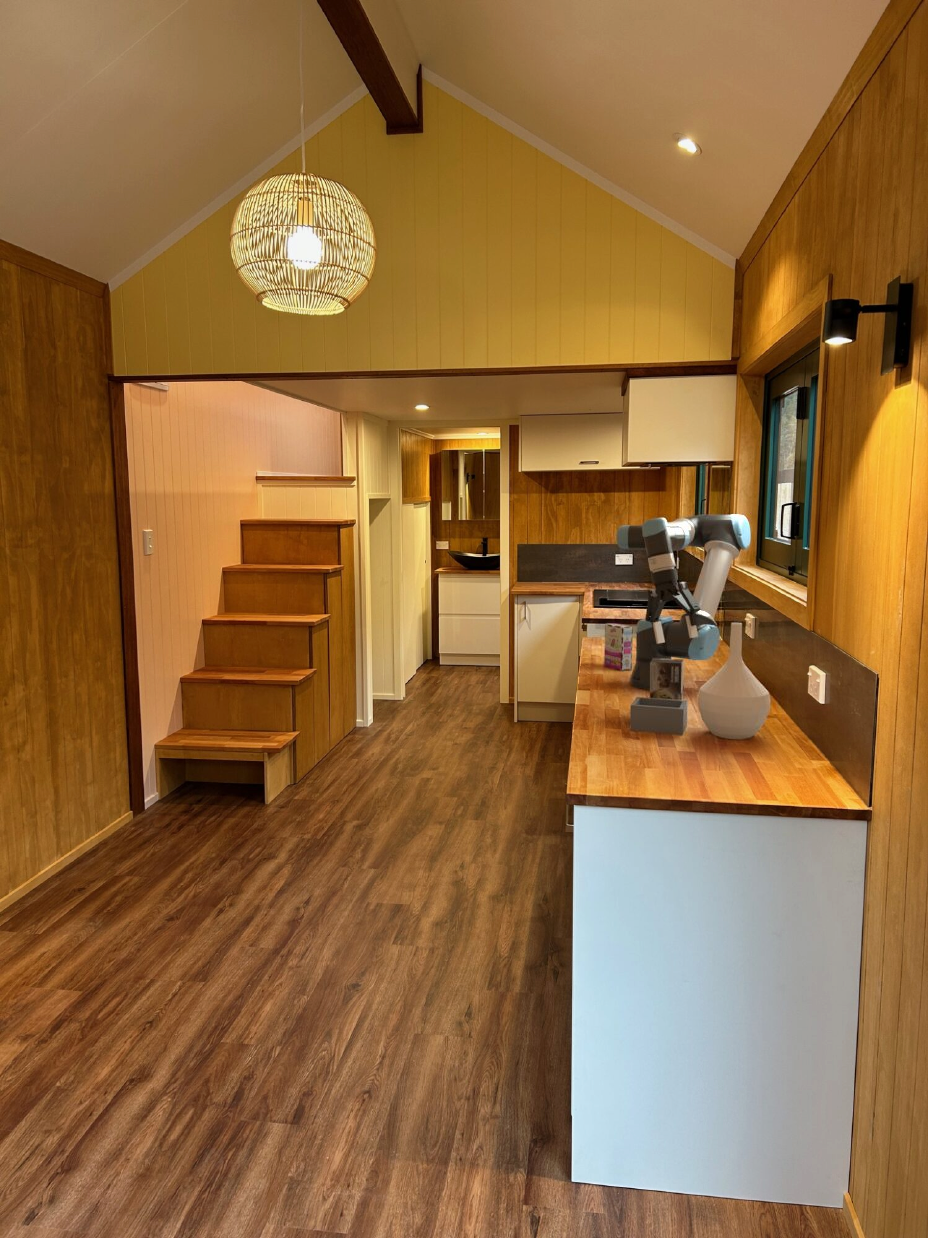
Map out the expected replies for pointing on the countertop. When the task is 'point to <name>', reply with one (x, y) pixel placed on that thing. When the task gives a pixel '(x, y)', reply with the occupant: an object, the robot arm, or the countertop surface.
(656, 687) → the coffee box
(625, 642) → the candy bar box
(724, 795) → the countertop surface
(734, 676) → the vase
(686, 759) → the countertop surface
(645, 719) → the rectangular open box
